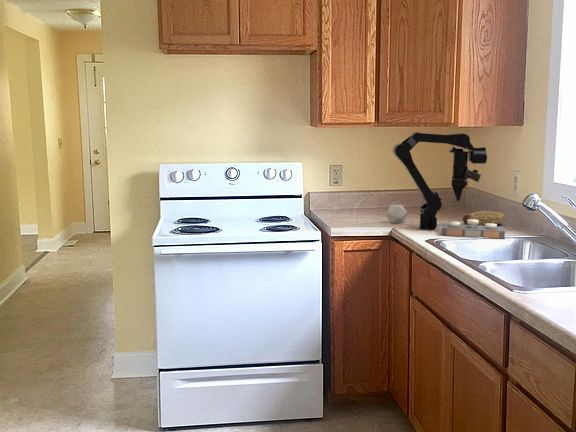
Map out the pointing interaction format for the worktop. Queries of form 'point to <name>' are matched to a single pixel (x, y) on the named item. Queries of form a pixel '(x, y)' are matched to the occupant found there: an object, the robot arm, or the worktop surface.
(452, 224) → the button left
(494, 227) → the button right
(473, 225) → the button middle
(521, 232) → the worktop surface
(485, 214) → the sponge
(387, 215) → the die
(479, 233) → the board
